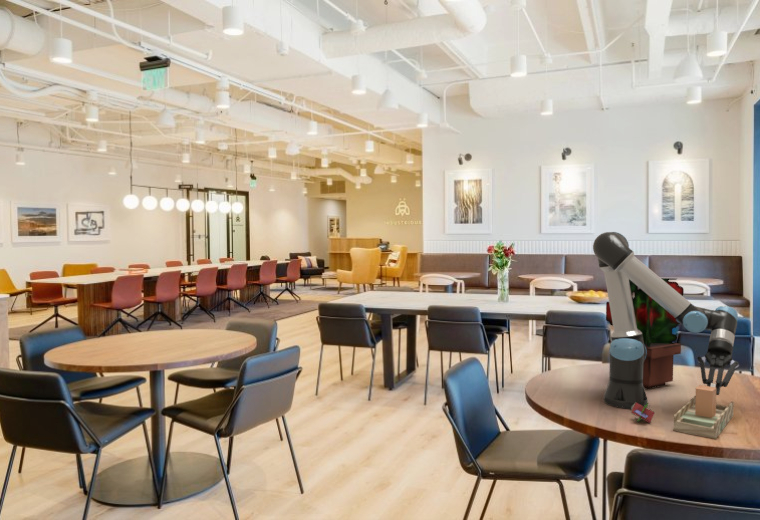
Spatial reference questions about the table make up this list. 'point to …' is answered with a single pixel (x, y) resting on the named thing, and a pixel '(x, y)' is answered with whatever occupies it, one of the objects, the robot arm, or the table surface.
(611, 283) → the robot arm
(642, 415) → the icosahedron model
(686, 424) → the beige open frame
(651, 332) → the potted plant
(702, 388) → the block
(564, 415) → the table surface
